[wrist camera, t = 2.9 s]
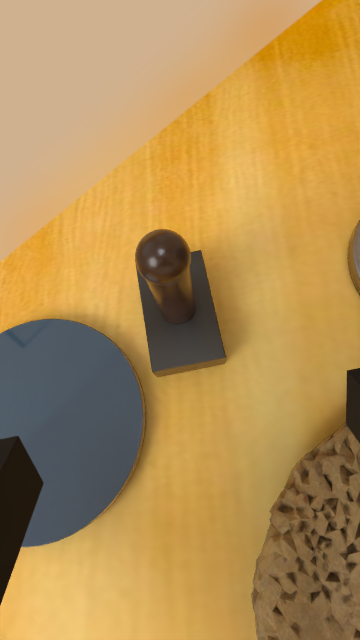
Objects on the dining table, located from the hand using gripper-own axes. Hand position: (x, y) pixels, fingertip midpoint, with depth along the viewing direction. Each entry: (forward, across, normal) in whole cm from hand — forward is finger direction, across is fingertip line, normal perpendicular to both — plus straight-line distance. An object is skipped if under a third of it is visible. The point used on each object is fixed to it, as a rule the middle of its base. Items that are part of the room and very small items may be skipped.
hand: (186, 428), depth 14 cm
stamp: (+18, 0, -3) cm, 18 cm away
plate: (+13, -13, -8) cm, 20 cm away
